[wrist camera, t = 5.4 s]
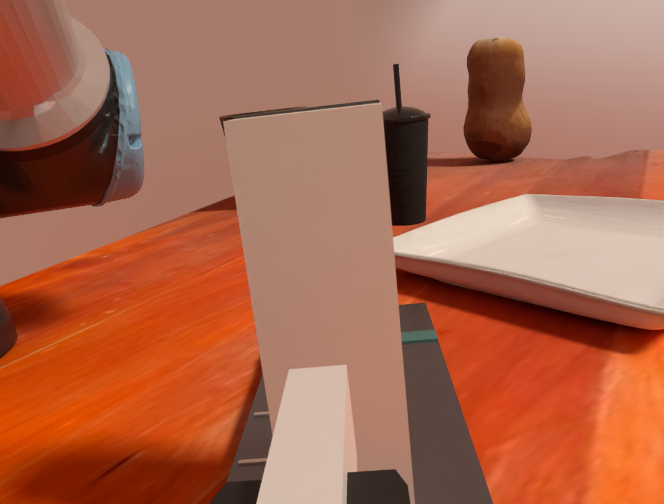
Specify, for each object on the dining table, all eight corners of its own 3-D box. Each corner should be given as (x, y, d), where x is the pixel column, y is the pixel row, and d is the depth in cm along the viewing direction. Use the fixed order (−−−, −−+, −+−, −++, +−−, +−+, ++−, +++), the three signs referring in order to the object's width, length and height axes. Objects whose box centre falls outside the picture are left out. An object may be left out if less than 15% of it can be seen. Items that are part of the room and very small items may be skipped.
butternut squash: (536, 155, 122) (534, 34, 115) (526, 164, 111) (524, 30, 104) (472, 158, 128) (467, 43, 122) (457, 167, 117) (451, 41, 110)
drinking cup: (388, 231, 70) (374, 64, 65) (372, 219, 77) (358, 69, 72) (445, 222, 71) (436, 58, 66) (424, 211, 79) (414, 63, 73)
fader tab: (415, 509, 21) (381, 100, 17) (285, 517, 21) (222, 117, 17) (406, 445, 25) (376, 99, 21) (295, 453, 25) (246, 113, 21)
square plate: (366, 282, 53) (362, 243, 52) (527, 220, 69) (527, 189, 68) (678, 366, 33) (682, 304, 32) (805, 250, 49) (811, 206, 48)
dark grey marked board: (527, 634, 18) (527, 601, 17) (186, 650, 18) (179, 618, 18) (426, 317, 42) (425, 301, 42) (283, 329, 43) (281, 313, 43)
